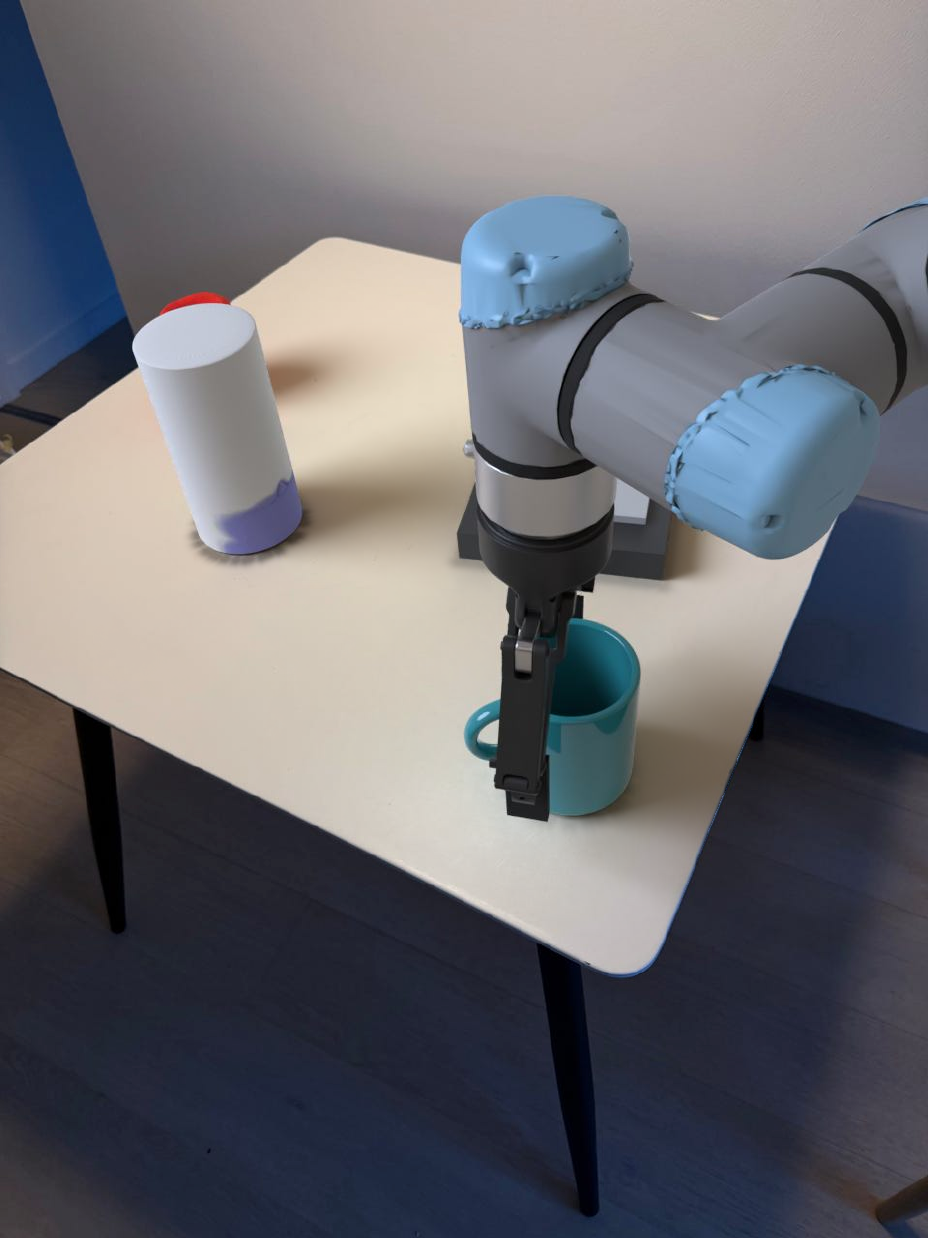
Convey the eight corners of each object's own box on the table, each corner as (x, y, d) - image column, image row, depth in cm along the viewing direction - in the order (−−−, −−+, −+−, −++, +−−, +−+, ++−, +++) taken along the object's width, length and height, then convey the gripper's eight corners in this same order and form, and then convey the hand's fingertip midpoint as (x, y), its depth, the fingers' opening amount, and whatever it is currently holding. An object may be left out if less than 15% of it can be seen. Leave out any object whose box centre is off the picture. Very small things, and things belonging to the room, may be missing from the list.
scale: (679, 465, 95) (682, 432, 92) (662, 580, 85) (665, 548, 82) (496, 449, 99) (494, 417, 96) (459, 558, 89) (455, 526, 86)
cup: (458, 738, 75) (445, 639, 67) (611, 707, 76) (616, 605, 68) (482, 841, 69) (471, 745, 61) (649, 805, 70) (660, 706, 62)
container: (238, 477, 99) (181, 292, 85) (322, 500, 96) (279, 312, 81) (177, 540, 93) (105, 353, 79) (264, 567, 90) (206, 376, 75)
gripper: (521, 364, 62) (527, 597, 78) (418, 661, 46) (452, 881, 62) (641, 373, 61) (623, 609, 76) (577, 684, 45) (571, 903, 60)
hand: (546, 731), depth 69 cm, fingers open, 13 cm apart
